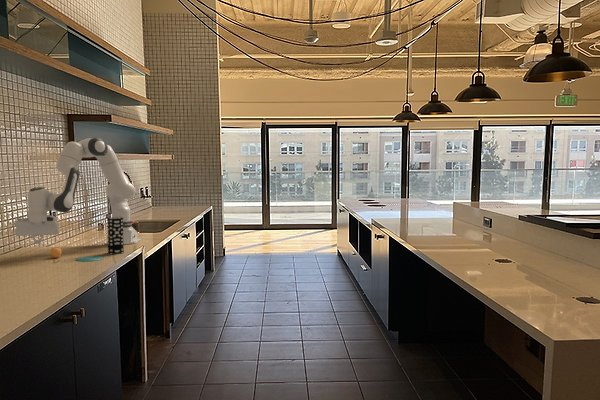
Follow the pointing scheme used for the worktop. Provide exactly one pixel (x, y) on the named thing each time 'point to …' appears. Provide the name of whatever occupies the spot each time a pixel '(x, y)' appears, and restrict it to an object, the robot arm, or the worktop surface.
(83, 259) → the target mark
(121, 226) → the spotted tube
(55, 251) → the ball
